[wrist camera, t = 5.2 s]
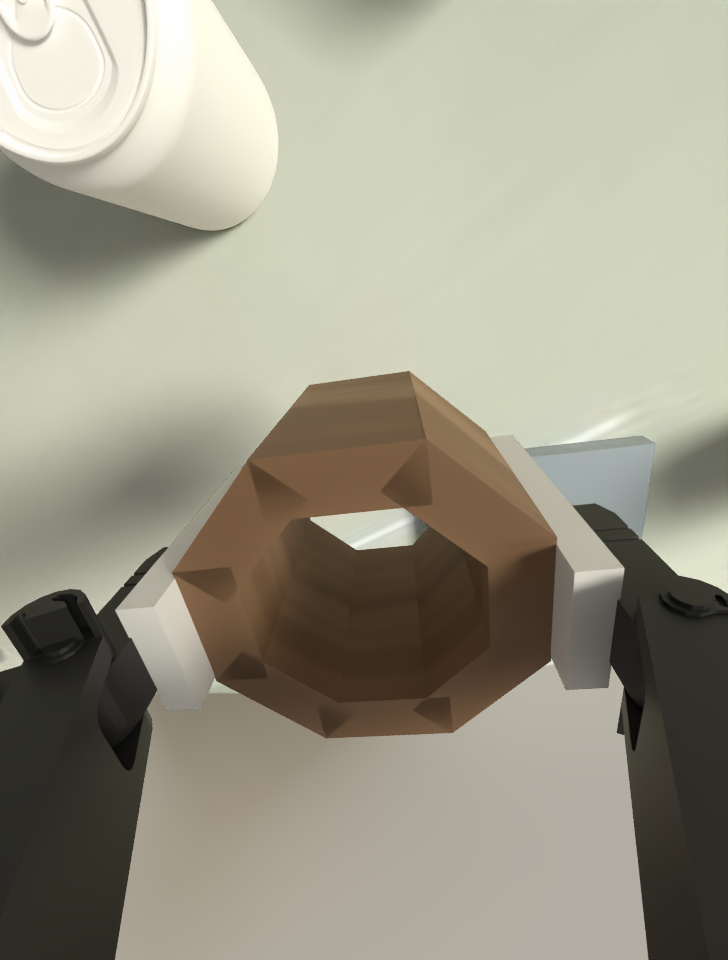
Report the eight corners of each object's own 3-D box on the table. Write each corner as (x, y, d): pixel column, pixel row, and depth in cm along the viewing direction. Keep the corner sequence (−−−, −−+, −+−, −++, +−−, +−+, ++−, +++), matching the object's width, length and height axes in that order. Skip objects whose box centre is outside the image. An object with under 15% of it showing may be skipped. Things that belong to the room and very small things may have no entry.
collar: (292, 583, 16) (241, 742, 10) (242, 394, 13) (130, 474, 7) (489, 566, 15) (547, 729, 9) (483, 360, 12) (563, 421, 6)
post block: (438, 617, 34) (453, 720, 26) (424, 460, 28) (437, 529, 20) (619, 605, 32) (695, 711, 24) (642, 435, 27) (752, 500, 19)
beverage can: (173, 252, 24) (-8, 222, 13) (98, 77, 21) (-222, -153, 10) (303, 202, 23) (221, 122, 12) (244, 7, 19) (56, -350, 9)
